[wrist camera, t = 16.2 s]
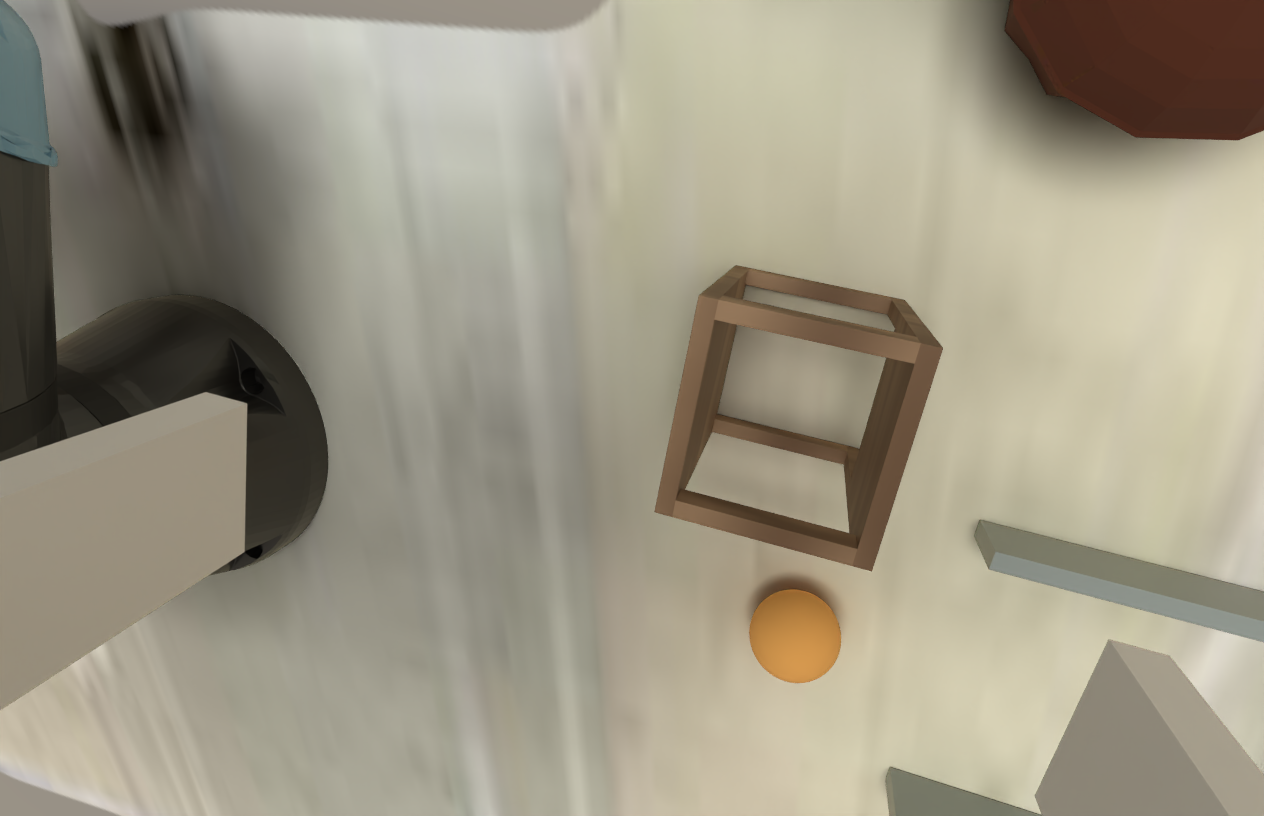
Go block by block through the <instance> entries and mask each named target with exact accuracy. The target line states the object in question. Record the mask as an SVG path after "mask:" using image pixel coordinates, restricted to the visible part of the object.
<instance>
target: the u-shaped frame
mask: <svg viewBox="0 0 1264 816" xmlns="http://www.w3.org/2000/svg"><path fill="white" fill-rule="evenodd" d="M974 537H975V539H976V542H977V544H978V546H979V548H980V551H981V553H982V555H983V557H984V560H985V562H986V564H987V566H988V569H989V570H993V571H997V572H1001V573H1004V574H1008V575H1012V576H1016V577H1019V578H1023V579H1027V580H1031V581H1034V582H1038V583H1042V584H1046V585H1050V586H1053V587H1057V588H1061V589H1065V590H1068V591H1072V592H1076V593H1080V594H1084V595H1087V596H1091V597H1095V598H1099V599H1102V600H1106V601H1110V602H1114V603H1118V604H1121V605H1125V606H1129V607H1133V608H1136V609H1140V610H1144V611H1148V612H1152V613H1155V614H1159V615H1163V616H1167V617H1170V618H1174V619H1178V620H1182V621H1186V622H1189V623H1193V624H1197V625H1201V626H1204V627H1208V628H1212V629H1216V630H1220V631H1223V632H1227V633H1231V634H1235V635H1238V636H1242V637H1246V638H1250V639H1254V640H1257V641H1261V642H1264V592H1262V591H1258V590H1254V589H1250V588H1246V587H1242V586H1238V585H1234V584H1231V583H1227V582H1223V581H1219V580H1215V579H1211V578H1207V577H1203V576H1199V575H1195V574H1191V573H1187V572H1183V571H1179V570H1175V569H1171V568H1168V567H1164V566H1160V565H1156V564H1152V563H1148V562H1144V561H1140V560H1136V559H1132V558H1128V557H1124V556H1120V555H1116V554H1112V553H1108V552H1104V551H1101V550H1097V549H1093V548H1089V547H1085V546H1081V545H1077V544H1073V543H1069V542H1065V541H1061V540H1057V539H1053V538H1049V537H1045V536H1041V535H1037V534H1034V533H1030V532H1026V531H1022V530H1018V529H1014V528H1010V527H1006V526H1002V525H998V524H994V523H990V522H986V521H982V520H980V522H979V524H978V527H977V530H976V533H975V535H974ZM886 789H887V798H888V807H889V816H1042V815H1039V814H1036V813H1033V812H1029V811H1026V810H1023V809H1020V808H1017V807H1014V806H1011V805H1007V804H1004V803H1001V802H998V801H995V800H992V799H989V798H985V797H982V796H979V795H976V794H973V793H970V792H967V791H963V790H960V789H957V788H954V787H951V786H948V785H945V784H942V783H938V782H935V781H932V780H929V779H926V778H923V777H920V776H916V775H913V774H910V773H907V772H904V771H901V770H898V769H894V768H891V767H890V769H889V772H888V774H887V777H886Z"/></svg>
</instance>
